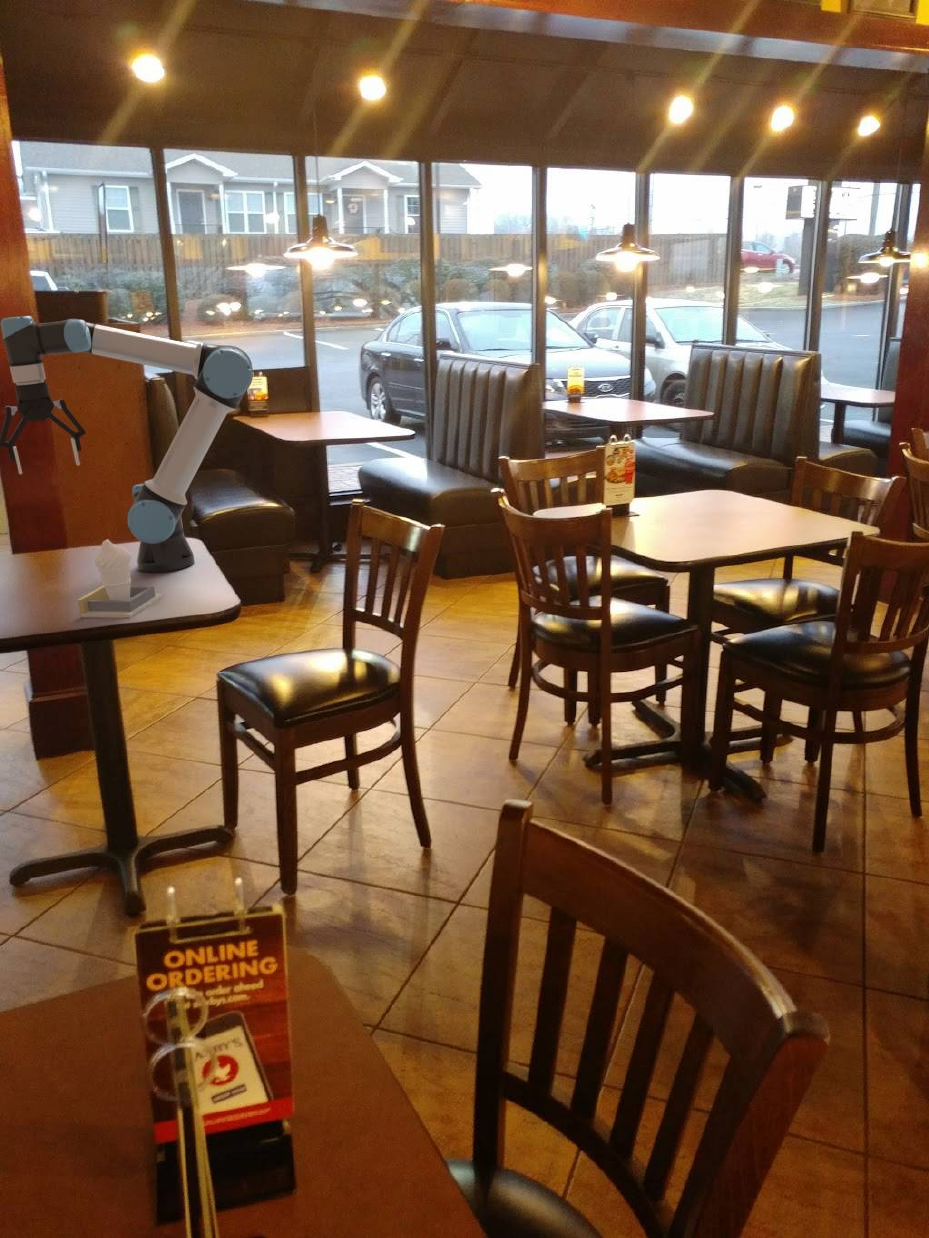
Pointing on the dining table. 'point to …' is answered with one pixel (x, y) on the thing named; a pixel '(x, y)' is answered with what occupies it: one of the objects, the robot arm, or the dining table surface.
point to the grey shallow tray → (117, 603)
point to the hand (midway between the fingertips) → (49, 469)
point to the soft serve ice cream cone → (114, 570)
